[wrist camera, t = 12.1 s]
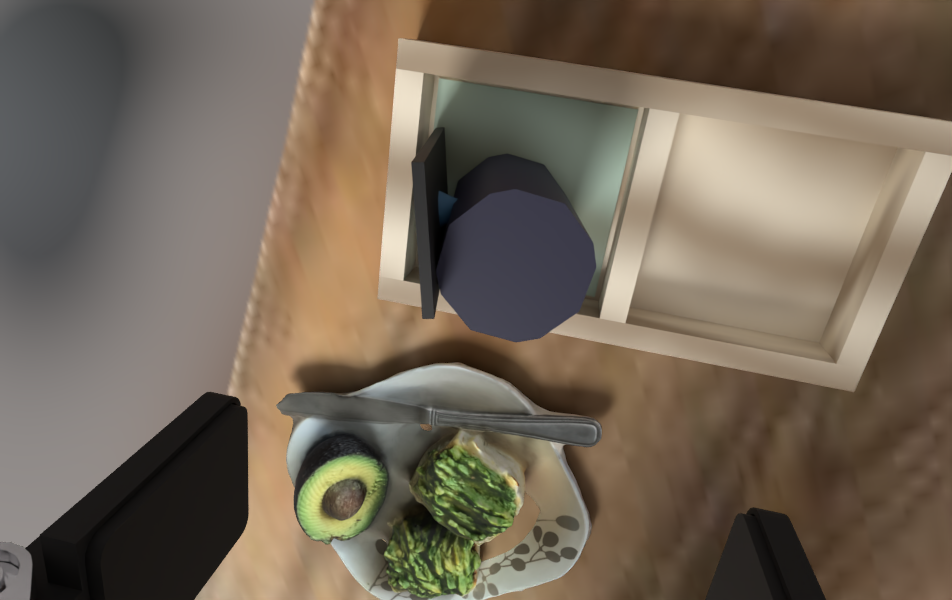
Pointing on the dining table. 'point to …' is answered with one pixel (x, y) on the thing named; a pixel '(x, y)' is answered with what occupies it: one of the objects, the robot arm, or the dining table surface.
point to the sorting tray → (688, 203)
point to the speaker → (499, 244)
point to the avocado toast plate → (437, 482)
